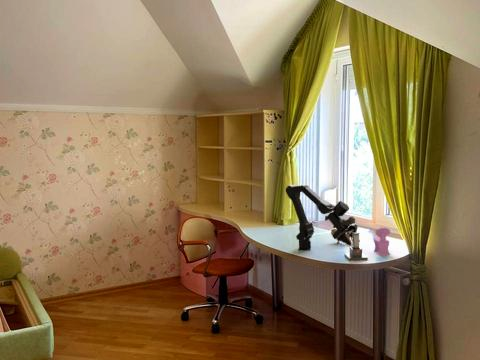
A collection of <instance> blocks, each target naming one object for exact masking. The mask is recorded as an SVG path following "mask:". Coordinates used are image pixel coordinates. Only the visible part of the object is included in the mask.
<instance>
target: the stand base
mask: <svg viewBox="0 0 480 360" xmlns="http://www.w3.org/2000/svg"><path fill="white" fill-rule="evenodd" d="M343 255H344V257H345V258H346V259H347V261H349V262H354V261H355V262H356V261H368V259H369V257H368V256H367V255H366V254H364V252H363V249H362V248H361V247H360V246H359V249H352V246H349V252H348V253H347V252H345V253H344V254H343Z"/></svg>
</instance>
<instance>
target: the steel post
mask: <svg viewBox="0 0 480 360" xmlns="http://www.w3.org/2000/svg"><path fill="white" fill-rule="evenodd" d="M359 240H360V232H359V231H357V232H352V240H351V242H352V244H351V247H352V249H359V247H360V242H359Z"/></svg>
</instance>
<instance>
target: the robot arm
mask: <svg viewBox="0 0 480 360" xmlns="http://www.w3.org/2000/svg"><path fill="white" fill-rule="evenodd" d="M285 193H286V196H287V197H288V199H289V200H291V202H292V205H293V208H294V211H295V214H296V216H297V220H298V223H299V226H298V231H299V233H298V234H297V235H295V236H296V237H295V238H296V240H298V251H299V250H300V251H310V250H311V248H312V241H311V239H312V237H313V235H314V233H315V227H314V224H313V222H309V221H308V219H307V214H306V212H305V210H304V209H305V208H304V207H303V204H302V201H301V193H303V194H304V195H305V196H306V197H307V198H308V199H309V200H310V201H311V202H312V203H314V205H315V206H316V208H317V210H318V211H319V213H321V214H322V215H324V216H325V217H324V221H329V222H330V223H331V224H332V227H333V228H332V229H337V230H336V231H335V232H334V234H333V236H332V238H333V239H334V240H336V241H337V240H339V242H341V243H343V244H345V245H347V246H349V247H352V244H351V243H350V241H349V240H348V238H347V237H346V233H347V234H349V236H350V239H351V238H352V232H358V228H359V226H358V225H357V224H355V223H356V218H355V217H354V216H353V215H352V216H349V217H348V218H347V219H345V218H343V219H342V218H341V217H343V216H344V215H345V214H346V213H347V212H348V211H349V210H350V207H349V205H348V204H347V203H345V202H343V201H342V200H339V201H337V203H336V204H335V205H334V204H332V203H331V202H329V201H327V200H325V199H323V198H322V197H320V196H319V195H318V193H316V192H315V191H314V190H313V189H311V188H310V186H309V185H307V184H301V185H297V184H290V185H287V186H286V188H285ZM359 243H360V239H359Z"/></svg>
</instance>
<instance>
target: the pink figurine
mask: <svg viewBox="0 0 480 360" xmlns="http://www.w3.org/2000/svg"><path fill="white" fill-rule="evenodd" d="M390 234H391V230H390V228H388V227H379V228H377V229H376V230H375V235H376V236H377V237H379V238H373V242H374V250H373V251H374V252H378V256H389V255H391V253H390V251H389V246H390V240H388V239H387V236H389V235H390Z"/></svg>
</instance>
